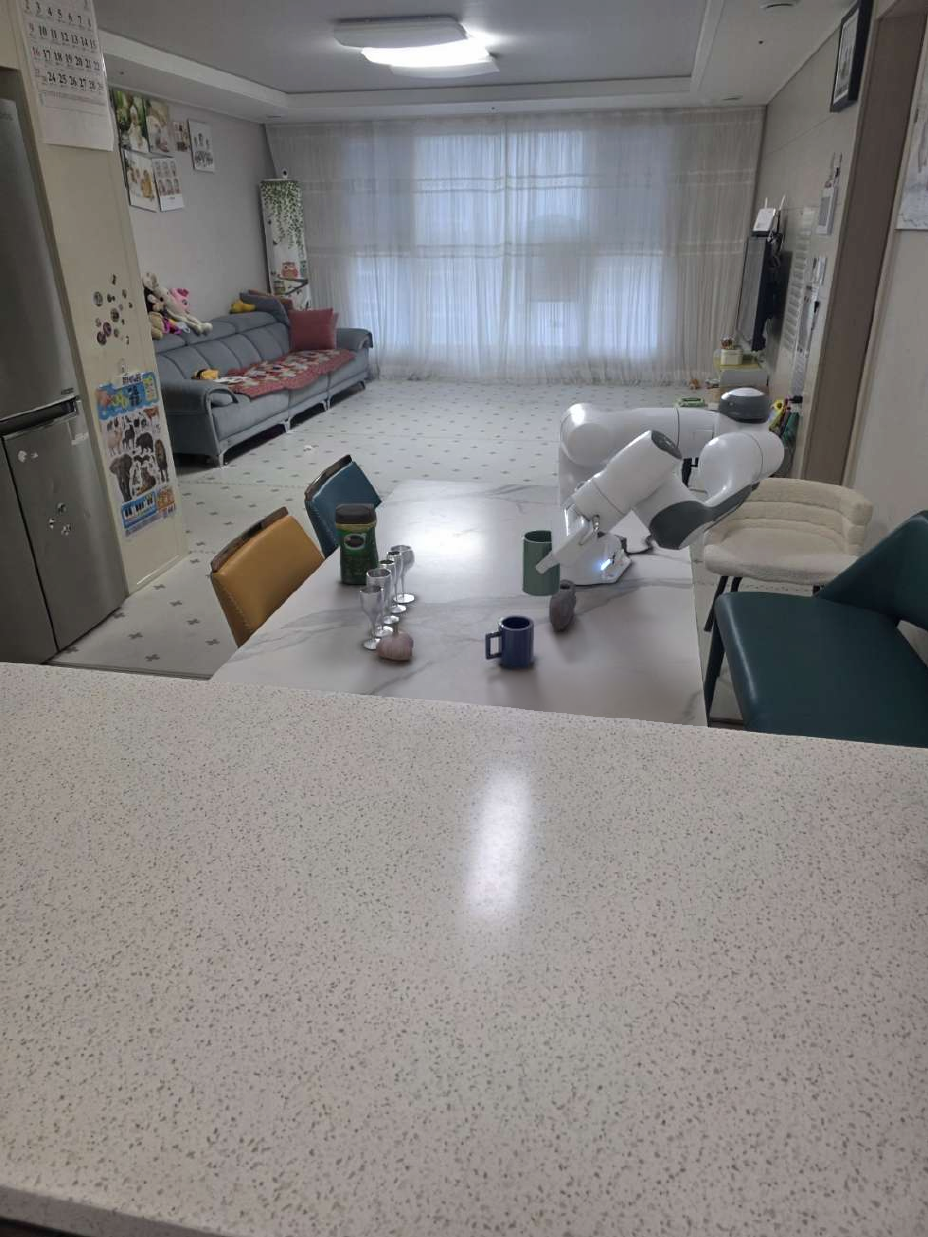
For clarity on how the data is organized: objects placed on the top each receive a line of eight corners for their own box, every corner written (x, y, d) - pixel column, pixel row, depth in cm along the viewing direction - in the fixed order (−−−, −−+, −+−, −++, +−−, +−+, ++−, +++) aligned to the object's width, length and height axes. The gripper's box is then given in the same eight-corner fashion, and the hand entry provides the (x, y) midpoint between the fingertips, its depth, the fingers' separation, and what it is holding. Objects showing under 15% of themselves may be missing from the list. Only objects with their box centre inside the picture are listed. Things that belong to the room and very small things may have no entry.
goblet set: (385, 650, 162) (381, 588, 156) (357, 648, 163) (352, 586, 157) (419, 594, 187) (416, 539, 181) (394, 593, 188) (391, 538, 182)
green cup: (534, 578, 152) (535, 527, 148) (566, 587, 148) (568, 534, 144) (514, 590, 147) (514, 538, 143) (546, 599, 144) (548, 545, 139)
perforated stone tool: (567, 638, 166) (568, 606, 163) (541, 635, 167) (542, 603, 164) (579, 608, 179) (580, 578, 176) (555, 605, 180) (555, 576, 177)
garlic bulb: (417, 663, 157) (415, 625, 154) (379, 667, 156) (376, 629, 152) (411, 645, 164) (409, 609, 160) (374, 649, 162) (371, 613, 159)
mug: (523, 650, 161) (523, 612, 158) (539, 664, 156) (540, 626, 152) (478, 659, 158) (478, 622, 154) (493, 674, 152) (492, 636, 149)
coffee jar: (383, 573, 199) (378, 499, 191) (378, 585, 192) (373, 509, 184) (343, 573, 200) (337, 499, 192) (337, 585, 193) (330, 509, 185)
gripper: (614, 541, 132) (551, 596, 137) (604, 503, 151) (549, 552, 156) (587, 514, 131) (524, 570, 136) (580, 479, 149) (526, 530, 154)
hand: (537, 560), depth 146 cm, fingers closed on green cup, 7 cm apart
